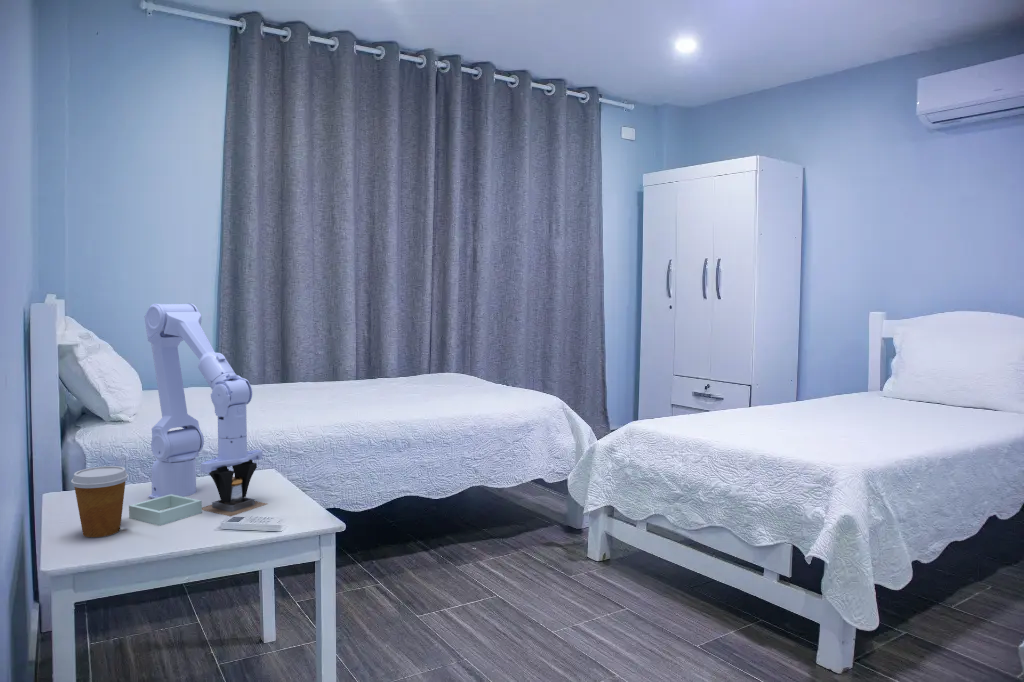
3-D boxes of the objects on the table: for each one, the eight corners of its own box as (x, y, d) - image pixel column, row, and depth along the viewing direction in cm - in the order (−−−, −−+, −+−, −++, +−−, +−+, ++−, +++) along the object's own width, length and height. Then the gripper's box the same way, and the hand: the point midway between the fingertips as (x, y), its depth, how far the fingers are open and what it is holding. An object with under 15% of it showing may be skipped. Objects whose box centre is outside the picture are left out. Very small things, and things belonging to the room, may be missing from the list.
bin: (129, 522, 144) (128, 505, 143) (171, 510, 152) (171, 494, 152) (160, 530, 139) (159, 512, 139) (202, 517, 148) (201, 500, 147)
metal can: (220, 507, 151) (219, 479, 151) (234, 502, 155) (234, 475, 154) (232, 509, 149) (232, 481, 149) (246, 505, 153) (246, 477, 152)
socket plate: (197, 513, 150) (197, 503, 150) (236, 501, 159) (236, 491, 159) (230, 520, 145) (230, 510, 145) (268, 508, 154) (268, 498, 154)
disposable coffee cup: (71, 543, 131) (69, 480, 131) (74, 528, 140) (72, 468, 139) (129, 535, 136) (128, 474, 135) (129, 521, 144) (127, 463, 143)
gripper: (216, 444, 143) (218, 510, 144) (272, 432, 156) (273, 493, 156) (193, 440, 146) (194, 505, 147) (249, 429, 159) (250, 488, 160)
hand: (233, 498), depth 152 cm, fingers closed on metal can, 4 cm apart
